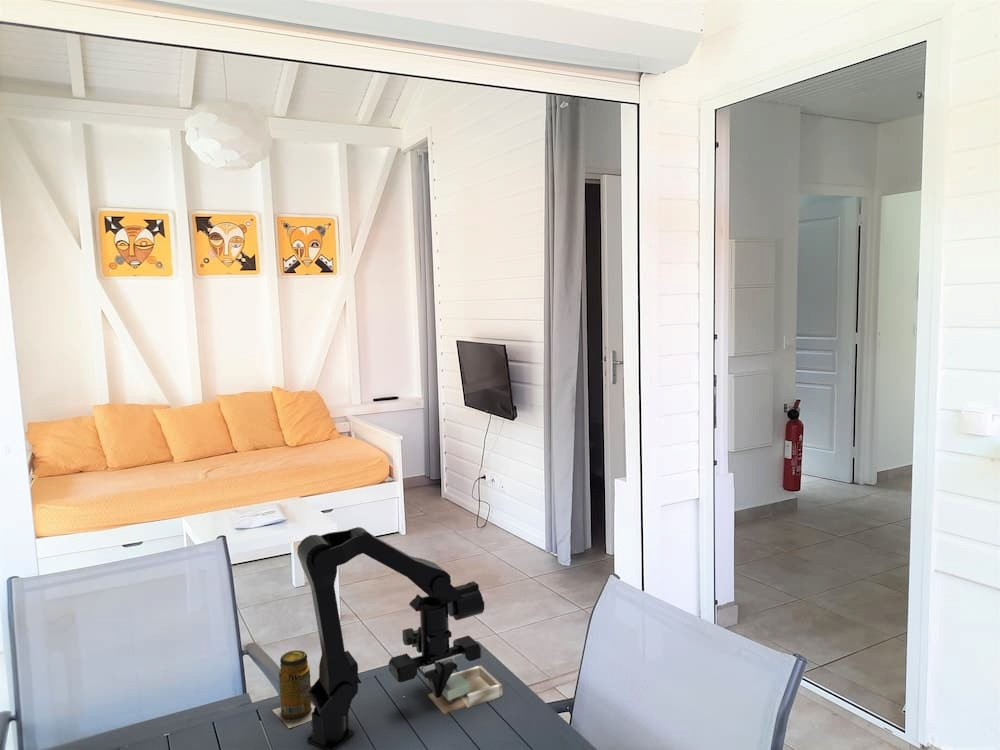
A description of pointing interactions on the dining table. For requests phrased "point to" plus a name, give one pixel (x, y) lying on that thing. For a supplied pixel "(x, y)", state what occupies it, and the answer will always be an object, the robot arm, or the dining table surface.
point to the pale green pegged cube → (455, 687)
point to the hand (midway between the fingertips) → (437, 696)
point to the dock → (472, 690)
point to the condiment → (294, 689)
